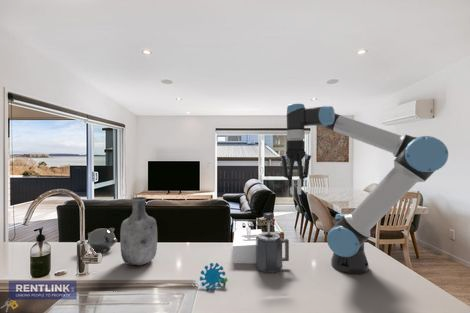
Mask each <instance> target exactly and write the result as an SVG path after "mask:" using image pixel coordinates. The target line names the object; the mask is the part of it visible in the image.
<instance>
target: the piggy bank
mask: <svg viewBox="0 0 470 313" xmlns="http://www.w3.org/2000/svg"><path fill="white" fill-rule="evenodd" d="M115 229H116V228H114V227H110V228H96V229H94V230H92V231H90V232H88V233H87V236H88V238H87V240H88V241H89V243H88V245H89V247H90V249H92V248H93V249H94V251H95V252H96V253H97V252H98V251H100V252H101V253H102V254H105V253H106V252H107V250H111V249H112V248H111V247H114V245H115V244H116V243H118V239H117V238H116V236H115V233H114V231H115ZM93 249H92V250H93Z"/></svg>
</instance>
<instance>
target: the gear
mask: <svg viewBox="0 0 470 313" xmlns="http://www.w3.org/2000/svg"><path fill="white" fill-rule="evenodd" d="M204 269H205V271H204V270H201V271H200V274H201V275H203V276H204V277H203V276H200V277H199V281H202V282H201V287H205V289H206V290H207V291H208V290H210V288H211V290H212V291H215V290H216V286H217V288H221V287H222V285H226V284H227V282H229V281H228V277H225V276H226V272H225V271H224V267H223V265H221V266H220V265H219V264H218V263H217V262H216V263H215V264H214V263H213V262H211V263H209V266H208V265H205V266H204ZM221 275H222V276H223V277H222V276H221Z"/></svg>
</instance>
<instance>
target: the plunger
mask: <svg viewBox="0 0 470 313" xmlns="http://www.w3.org/2000/svg"><path fill="white" fill-rule="evenodd" d="M274 214H275V213H272V212H264V213H263V219H265V220H266V221H267V233H268V237H270V232H271V223H270V222H271V220H274V217H275V215H274Z"/></svg>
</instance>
